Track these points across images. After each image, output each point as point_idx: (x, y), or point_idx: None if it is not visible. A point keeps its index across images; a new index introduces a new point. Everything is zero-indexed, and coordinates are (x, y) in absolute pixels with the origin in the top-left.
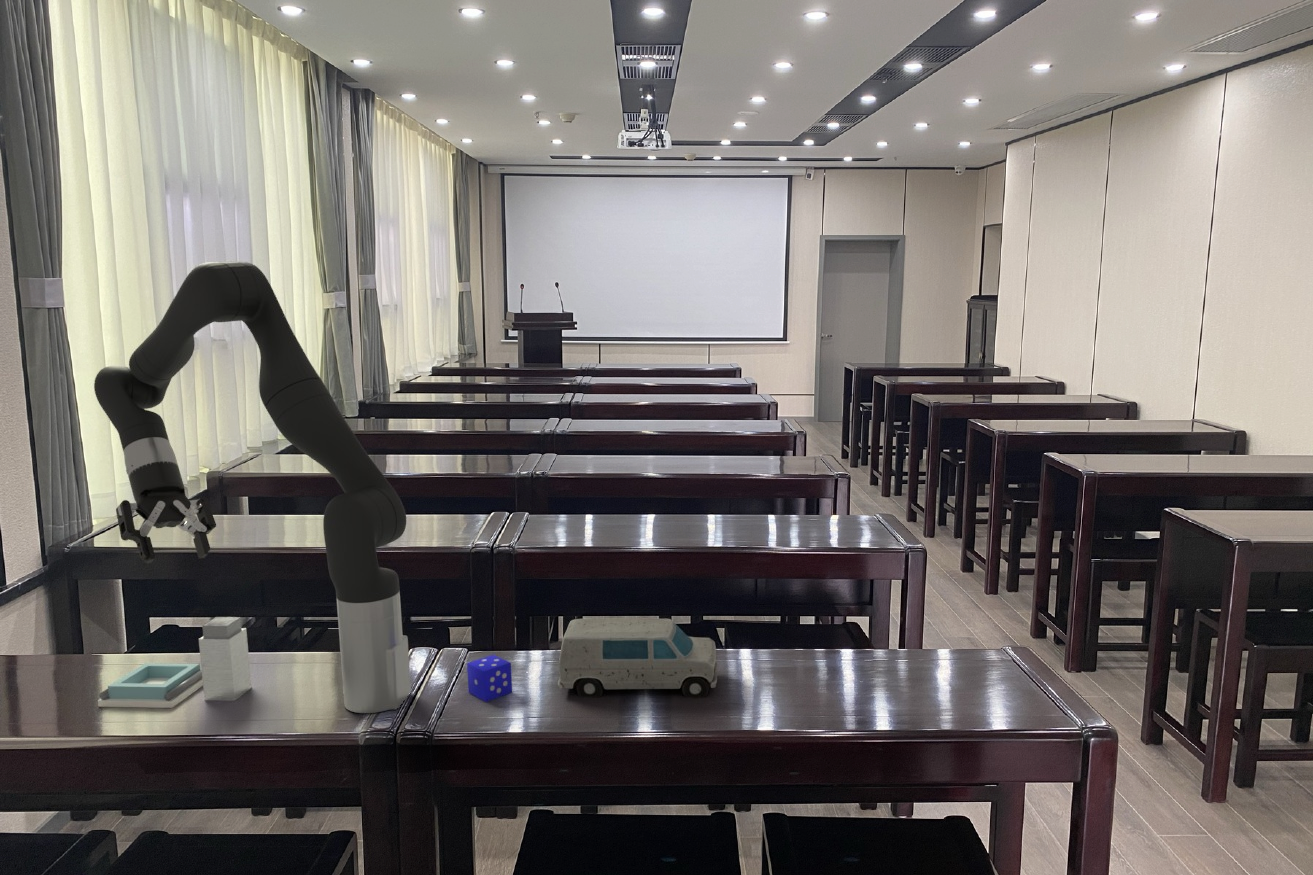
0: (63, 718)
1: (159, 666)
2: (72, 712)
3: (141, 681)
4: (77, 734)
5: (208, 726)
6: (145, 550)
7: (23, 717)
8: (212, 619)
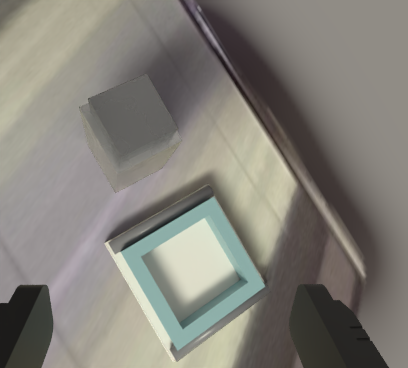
0: None
1: (170, 308)
2: None
3: (196, 310)
4: (314, 213)
5: (206, 81)
6: (349, 324)
7: None
8: (138, 147)
